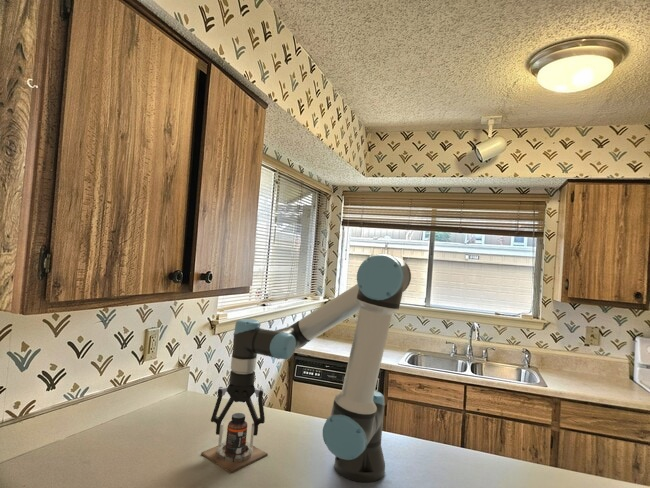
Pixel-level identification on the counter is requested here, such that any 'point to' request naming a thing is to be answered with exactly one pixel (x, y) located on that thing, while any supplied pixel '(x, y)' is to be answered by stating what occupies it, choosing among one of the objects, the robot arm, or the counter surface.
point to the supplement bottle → (236, 435)
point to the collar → (234, 458)
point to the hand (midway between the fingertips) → (235, 445)
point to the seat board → (233, 466)
